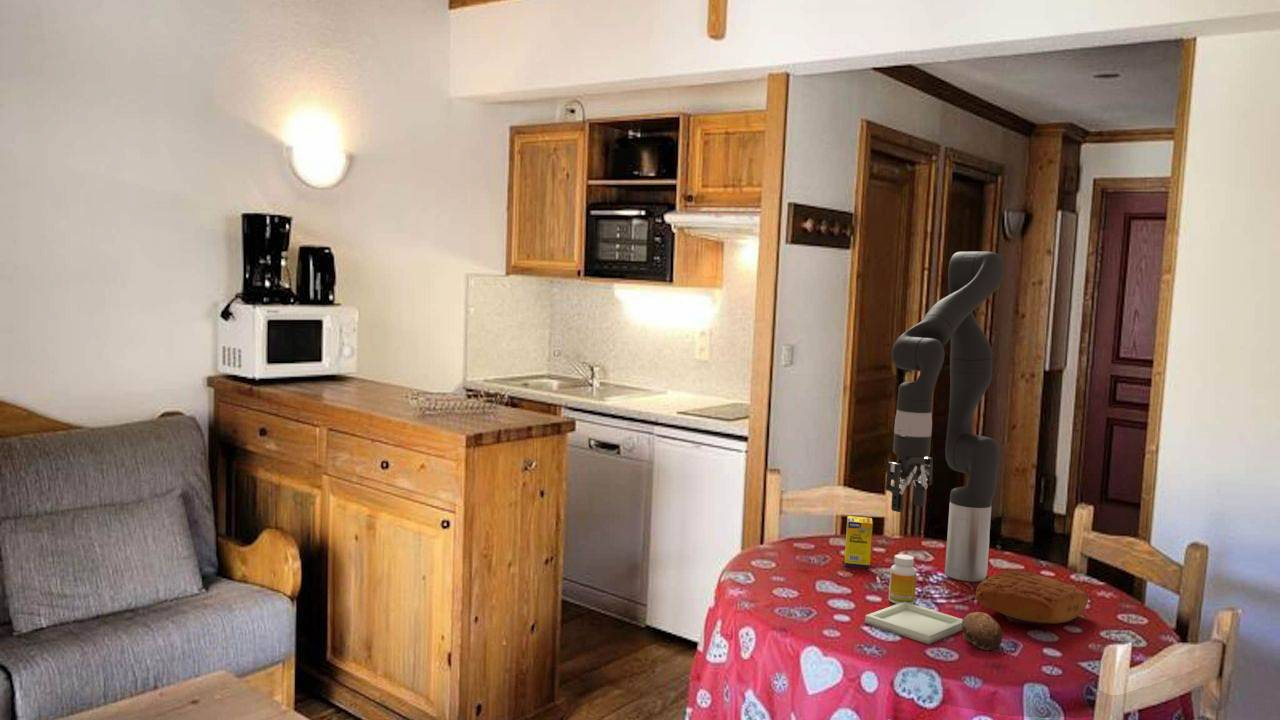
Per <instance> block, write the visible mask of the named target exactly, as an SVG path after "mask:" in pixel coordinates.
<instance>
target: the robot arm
mask: <svg viewBox="0 0 1280 720" xmlns="http://www.w3.org/2000/svg"><path fill="white" fill-rule="evenodd" d="M948 264H949V265H948V271H947V272H948V274H947V275H948V276H947V278H948V281H947V282H948V295H947V296H945V297H943V298H941V299H940V300H938V301H937V302H936V303H935V304H934V305H932V307H930V309H929V310H928V311H927V313H926V314H925V315H924V317H923V318H922V319H921V321H920V322H919V323H917V324H915V325H913V326H912V327H910V328H909V329H907V330H906V331H905V332H903V333H902V334H901V335H899V337H898V338H897V339H896V340H895V342H894V343H893V346H892V347H891V353H890V354H891V361H892V363H893V364H894V366H895V367H896V368H898V369H901V370H904V371H915V372H920V373H919V376H918V377H917V379H916V380H913V381H905V382H902V383H901V384H899V386H898V391H897V392H898V393H897V400H896V402H897V403H896V404H897V405H896V414H895V418H894V431H893V443H892V444H893V446H892V447H893V449H892V451H893V452H892V453H894V454H895V455H896V456H897V461H896V462H893V461H888V463H887V469H886V481H885V491H886V492H887V491H888V492H890V493H891V506H890V507H891V508H890V509H891V511H893V512H896V513H901V512H903V505H904V492H905V490H906V488H907V487H908V486H909V485H910V484H911V482H912V484H913V485H914V489H913V503H912V504H913V505H914V506H915V507H916V506H917V507H919V508H920V507H924V506H925V497H926V490H927V489H928V486H931V485H932V484H933V472H934V471H933V467H934V461H933V460H934V459H933V457H929V456H930V455H931V447H932V446H931V444H932V432H933V431H932V430H933V418H932V416H933V415H932V414H933V413H932V411H933V397H934V396H933V395H934V391H935V388H936V384H937V381H938V378H939V375H940V372H941V370H942V367H943V364H944V361H945V357H946V356H945V355H946V354H945V348H944V346H945V345H947V343H948V342H949V341H950V353H949V376H950V377H949V379H950V387H949V408H948V409H949V411H948V421H947V430H946V440H945V450H944V451H945V461H946V463H947V465H948V467H949V468H950V469H951V470H953V471H956V472H959V473H963V474H967V475H969V476H968V480H967V483H966V485H964V486H958V487H954V488H952V489H951V491H950V495H949V505H948V506H949V507H948V508H949V509H948V521H947V522H948V523H947V534H946V535H947V537H946V548H945V549H946V550H945V551H946V552H945V563H944V565H945V566H944V574H945V576H947V577H949V578H951V579H954V580H959V581H964V582H982V581H984V580H986V579H987V576H988V564H989V552H990V551H989V550H990V538H991V537H990V530H991V516H992V505H993V504H992V502H993V498H994V496H995V493H996V489H997V482H998V481H997V480H998V474H999V473H998V472H999V466H1000V448H999V445H998V443H997V442H996V440H995V439H993V438H991V437H988V436H984V435H979V434H975V433H974V434H973V420H974V414H975V410H976V408H977V406H978V404H979V402H980V401H981V400H982V398H983V396H984V395H985V393H986V392H987V389H988V388H989V386H990V384H991V381H992V378H993V349H992V346H991V343H990V342H989V339H988V338H987V335H986V334H985V333H984V331H983V329H982V328H981V326H980V325H979V323H978V321H977V319H976V317H975V315H974V313H973V312H974V311H975V310H976V309H977V308H978V307H979V306H981V304H983V303H984V302H985V301H986V300H987V299H988V298H989V297H991V296H992V295H993V294H994V293H995V292H996V290H997V289H999V287H1000V285H1001V283H1002V281H1003V280H1004V274H1005V266H1004V265H1005V264H1004V262H1003V258H1002V257H1001V256H1000V255H999V254H998V253H996V252H993V251H957V252H955V253H954V254H953V255H952V256H951V258H950V260H949V263H948Z"/></svg>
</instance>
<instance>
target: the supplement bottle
mask: <svg viewBox="0 0 1280 720" xmlns="http://www.w3.org/2000/svg"><path fill="white" fill-rule="evenodd" d="M893 561H894V564H893V565H892V566H891V567H890V570H889V583H888V584H889V585H888V600H889V602H891V603H893V604H894V605H896V604H899V603H901V602H907V603H911V604H915V601H916V585H917V569H916V567H914V566H913V565H915V558H914V556H912V555H909V554H901V553H900V554H899V553H897V554H894V560H893Z"/></svg>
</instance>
